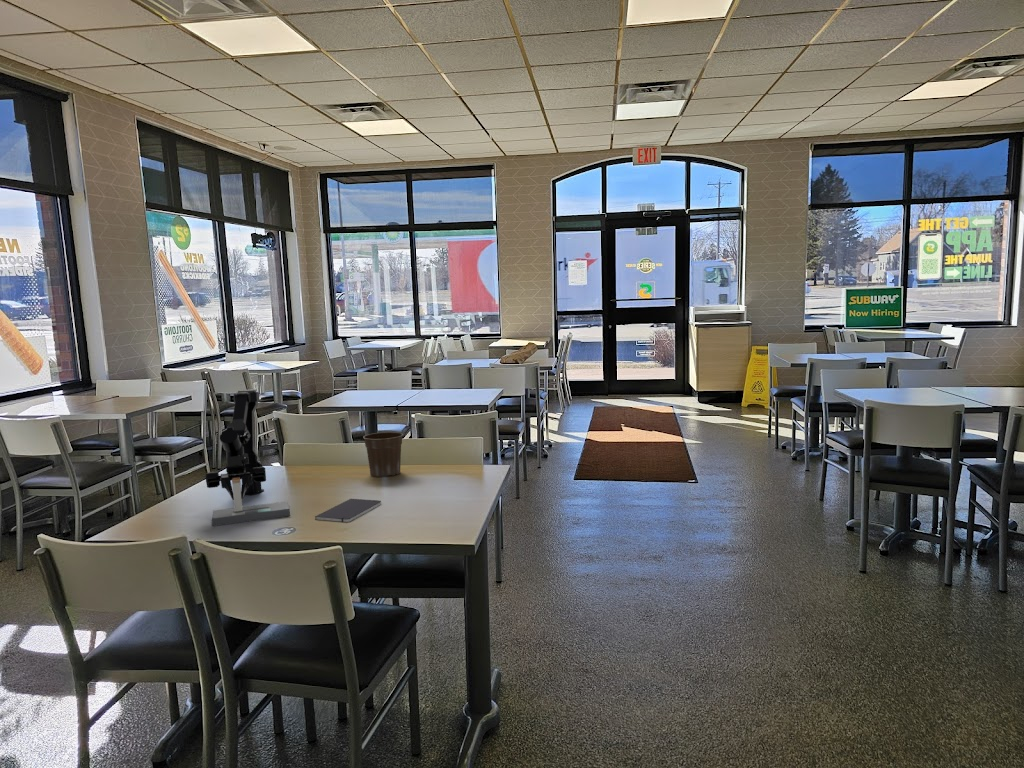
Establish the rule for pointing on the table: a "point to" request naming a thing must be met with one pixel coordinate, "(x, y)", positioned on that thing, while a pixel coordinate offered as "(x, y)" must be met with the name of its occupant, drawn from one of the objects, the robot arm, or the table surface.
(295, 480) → the table surface
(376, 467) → the plant pot
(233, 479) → the slide lever
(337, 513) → the notebook
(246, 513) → the switch housing
